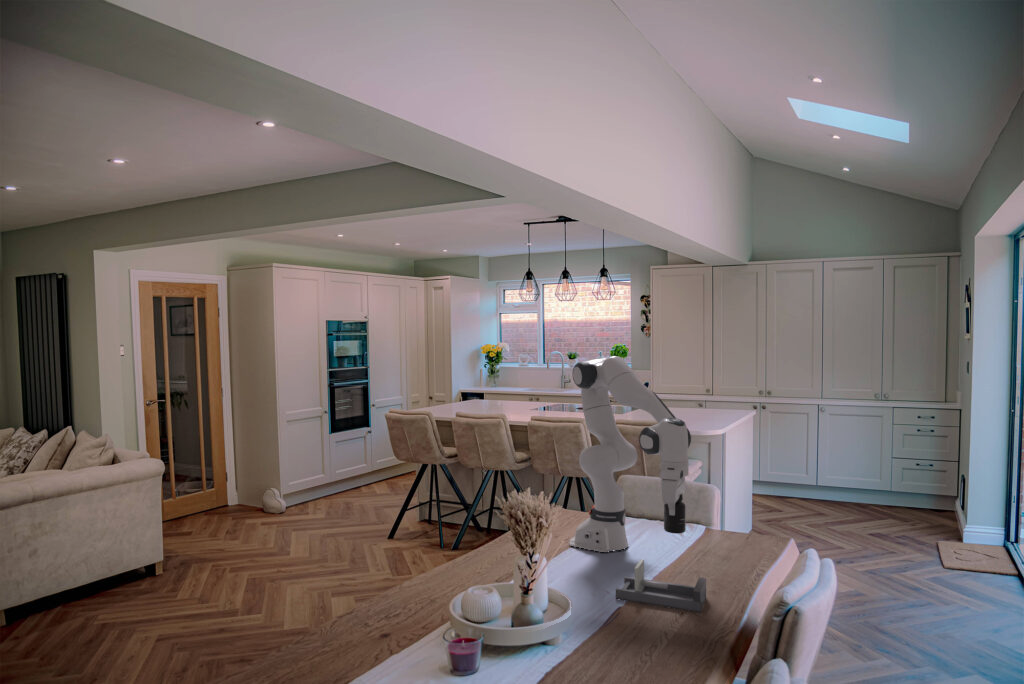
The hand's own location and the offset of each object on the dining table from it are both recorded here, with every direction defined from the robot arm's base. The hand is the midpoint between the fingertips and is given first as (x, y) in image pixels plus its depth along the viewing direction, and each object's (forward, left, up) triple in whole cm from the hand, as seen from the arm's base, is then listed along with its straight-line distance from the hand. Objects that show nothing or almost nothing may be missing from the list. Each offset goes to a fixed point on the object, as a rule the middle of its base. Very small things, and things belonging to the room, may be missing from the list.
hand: (674, 511), depth 207 cm
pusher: (-4, -15, -22) cm, 27 cm away
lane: (-2, -15, -23) cm, 27 cm away
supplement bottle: (0, 0, -7) cm, 7 cm away
